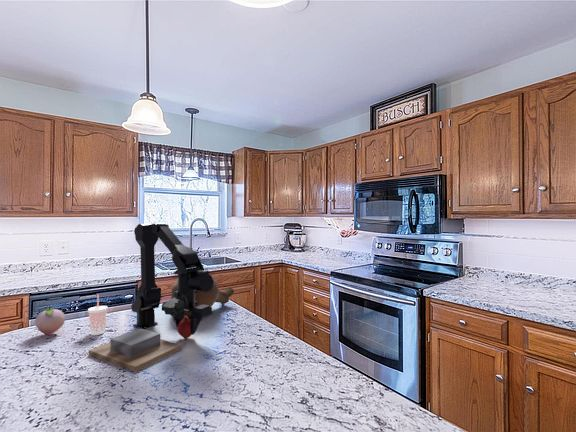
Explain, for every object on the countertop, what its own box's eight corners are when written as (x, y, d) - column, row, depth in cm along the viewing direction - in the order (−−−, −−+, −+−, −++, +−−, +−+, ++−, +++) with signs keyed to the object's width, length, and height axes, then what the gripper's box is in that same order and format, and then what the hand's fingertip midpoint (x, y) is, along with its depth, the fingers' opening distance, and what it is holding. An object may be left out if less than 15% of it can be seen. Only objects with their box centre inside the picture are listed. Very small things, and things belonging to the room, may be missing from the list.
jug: (174, 326, 117) (236, 320, 138) (187, 277, 116) (248, 279, 138) (155, 304, 131) (214, 302, 152) (167, 261, 131) (224, 265, 152)
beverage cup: (104, 334, 108) (104, 295, 108) (84, 336, 106) (85, 297, 106) (109, 328, 114) (110, 291, 114) (91, 330, 112) (91, 292, 112)
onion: (197, 335, 107) (197, 313, 107) (190, 342, 101) (191, 318, 101) (182, 335, 108) (182, 312, 108) (174, 341, 102) (174, 318, 102)
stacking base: (88, 355, 92) (88, 338, 92) (136, 336, 106) (136, 322, 106) (135, 372, 82) (135, 353, 82) (181, 349, 96) (181, 333, 96)
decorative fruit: (68, 334, 108) (68, 306, 108) (39, 341, 102) (39, 312, 102) (61, 328, 114) (61, 302, 114) (33, 334, 108) (33, 306, 108)
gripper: (148, 289, 102) (148, 335, 102) (188, 296, 93) (188, 347, 93) (174, 283, 112) (174, 325, 112) (213, 289, 103) (213, 334, 103)
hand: (186, 332), depth 105 cm, fingers closed on onion, 6 cm apart
